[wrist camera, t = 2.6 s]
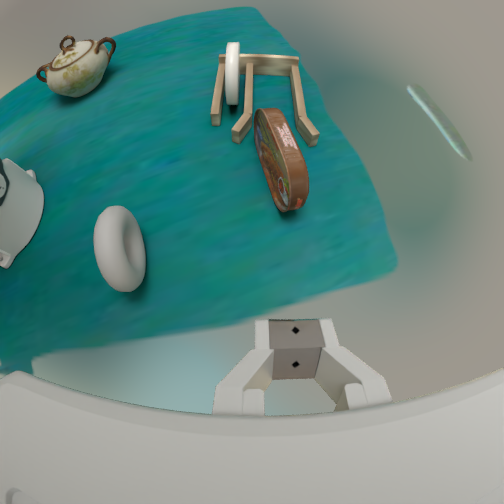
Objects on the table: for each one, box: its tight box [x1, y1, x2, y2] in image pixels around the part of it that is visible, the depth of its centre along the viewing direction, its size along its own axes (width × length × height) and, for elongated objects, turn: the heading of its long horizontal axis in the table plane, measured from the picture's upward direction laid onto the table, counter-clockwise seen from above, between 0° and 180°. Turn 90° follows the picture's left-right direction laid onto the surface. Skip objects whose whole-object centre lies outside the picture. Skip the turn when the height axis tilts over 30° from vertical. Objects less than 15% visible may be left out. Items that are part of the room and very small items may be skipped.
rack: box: [211, 54, 320, 147], centre depth 40 cm, size 16×19×4 cm
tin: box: [254, 108, 309, 212], centre depth 34 cm, size 15×3×8 cm, turn 14°
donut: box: [93, 206, 146, 292], centre depth 29 cm, size 10×4×10 cm, turn 11°
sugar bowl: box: [36, 36, 116, 97], centre depth 38 cm, size 20×15×15 cm
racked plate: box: [225, 42, 240, 105], centre depth 37 cm, size 2×11×11 cm, turn 179°
